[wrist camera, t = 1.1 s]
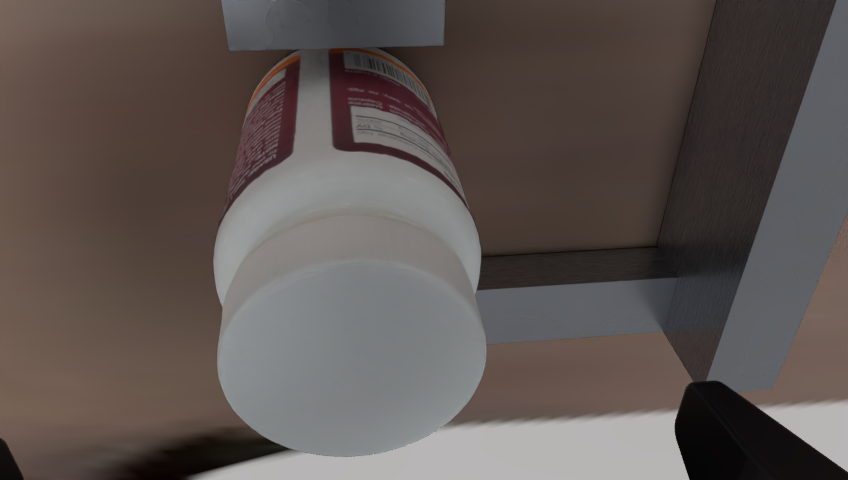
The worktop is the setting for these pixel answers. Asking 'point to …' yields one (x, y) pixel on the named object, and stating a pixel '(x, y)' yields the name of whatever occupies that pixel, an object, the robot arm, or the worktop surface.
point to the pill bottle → (346, 261)
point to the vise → (690, 193)
